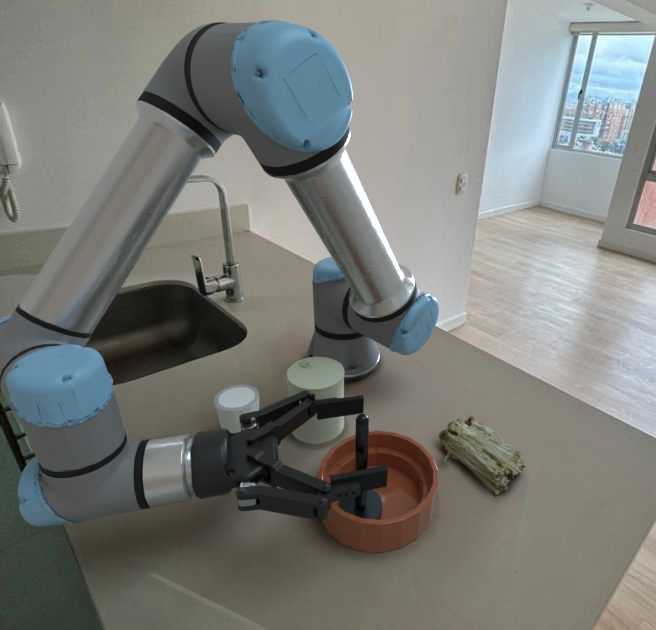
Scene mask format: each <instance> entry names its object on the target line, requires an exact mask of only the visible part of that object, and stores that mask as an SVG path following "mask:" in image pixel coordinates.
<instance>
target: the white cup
mask: <svg viewBox="0 0 656 630" xmlns="http://www.w3.org/2000/svg"><path fill="white" fill-rule="evenodd" d="M213 405H214V408H215V411H216V414H217V417H218V421H219V426H220V429H223V428H225V429H227V430H229V432H230V433H237V432H240V431H241V426H240V419H239V417H240V415H241V414H244V413H249V412H254V411H258V410H260V391H259V390H258V389H257V388H256V387H254V386H252V385H249V384H235V385H231V386H228V387H225V388H223V389H222V390H220V391H219V392H217V393H216V395H215V397H214V398H213Z"/></svg>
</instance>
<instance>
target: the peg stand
mask: <svg viewBox="0 0 656 630" xmlns="http://www.w3.org/2000/svg"><path fill="white" fill-rule="evenodd" d="M369 432H370V418H369V416H368V415H367V414H366V413H362V414H357V416H356V417H355V435H356V440H355V471H358V470H363V469H367V467H368V436H369ZM338 507H340V508H341V509H342V510H343V511H344V512H347V513H350V514H352V515H355V516H357V517H360V518H364V519H376V520H380V519H381V516H382V500H381V498H380V496H379V494H378V493H377V492H375V491H374V490H367V491H362V492H360V495H359V496H357V497H354V498H349V499H348V498H347V499H344V500H339V504H338Z"/></svg>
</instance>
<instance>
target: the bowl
mask: <svg viewBox="0 0 656 630" xmlns="http://www.w3.org/2000/svg"><path fill="white" fill-rule="evenodd" d="M355 440H356V434H353V435H351V436H347V437H345V438H344V439H342V440H341V441H339V442H337V444H335V445H333V446H332V447H331V448H330V449H329V451H328V452H327V453H326V454H325V455H324V457H323V458H322V459H321V461H320V465H319V468H318V472H317V477H316V478H318V479H321V480H323V481H326V482H328V483H330V476H331V475H336V474H341V473H347V472H352V471H355ZM385 465H386V466H387V469H388V475H387V487H382V488H377V489H372V490H374V491H375V492H377V493H378V494H379V496H380V498H381V500H382V516H381V519H380V520H376V519H364V518H360V517H357V516H355V515H352V514H350V513H347V512H344V511H343V510H342V509H341V508H340V507H338V504H339V501H335V502H332V503H331V504H332V507H331V509H330V510H328V517H327V519H326V520H324V521H321V522H322V524H323V526H324V528H325V530H326V532H327V533H328V534H330V536H332V537H333V538H334V539H335V540H336V541H337V542H338V543H340V545H343V546H345V547H348V548H351V549H354V550H355V551H358V552H364V553H373V554H374V553H375V554H382V553H386V552H392V551H396V550H400V549H402V548H404V547H405V546H407V545H410V544H411V543H412V542H415V541H416V540H417V539H418V538H420V536H421V535H422V534H423V533H424V532H425V531H426V530H427V529H428V528H429V526H430V523H431V521H432V520H433V519H432V518H433V517H434V514H435V509H436V502H437V496H438V486H439V470H438V467H437V464H436V462H435V460H434V457H433V456H432V455H431V453H430V452H429V450H427V448H426V447H425V446H424V445H423V444H421V443H420V442H418V441H416V440H414V439H413V438H411V437H409V436H406V435H403V434H400V433H397V432H394V431H385V430H384V431H383V430H373V431H372V430H371V431H369V436H368V467H367V469H368V468H374V467H379V466H385Z"/></svg>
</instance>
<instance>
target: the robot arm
mask: <svg viewBox="0 0 656 630" xmlns="http://www.w3.org/2000/svg"><path fill="white" fill-rule="evenodd" d="M352 85H353V84H352V81H351V76H350V73H349V71H348V69H347V66H346V64H345V63H344V60H343V59H342V57H341V55H340V54H339V52H338V50H337V49H336V48H335V47H334V46H333V45H332V43H331V42H330V41H329V40H328V39H326V37H324V36H323V35H322V34H320V33H319V32H317V31H315V30H313V29H311V28H310V27H307V26H305V25H303V24H297V23H290V22H288V21H283V20H279V19H265V20H264V19H263V20H260V21H257V22H256V21H255V22H254V21H253V22H224V21H220V22H219V21H217V22H209V23H205V24H202V25H200V26H198V27H196V28H194V29H192V30H191V31H189V32H188V33H187V34H185V35H184V36H183V37H182V38H181V39H179V41H178V42H176V44H175V45H174V46H173V48H172V49H171V50H170V51H169V53H168V54H167V55H166V57H165V58H164V60H163V61H162V62H161V63H160V65H159V67H158V68H157V70H155V73H154V74H153V76H152V77H151V79H150V80H149V82H148V83H147V85H146V86H145V88H144V89H143V91H142V92H141V94H140V95H139V97H138V99H137V100H136V102H135V109H136V112H137V116H138V119H137V120H136V121H135V124H133V126H132V128H131V130H130V131H129V133H128V134H127V136H126V137H125V139H124V141H123V142H122V144H121V145H120V146H119V148H118V150H117V152H116V153H115V155H114V156H113V158H112V159H111V161H110V163H108V166H107V167H106V168H105V170H104V172H103V173H102V174H101V176H100V178H99V179H98V180H97V183H96V184H95V185H94V187H93V189H92V190H91V192H90V193H89V195H88V196H87V198H86V200H85V201H84V203H83V204H82V205H81V207H80V209H79V210H78V212H77V214H76V215H75V217H74V218H73V220H72V221H71V223H70V225H69V226H68V228H67V229H66V230H65V232H64V234H63V235H62V237H61V238H60V240H59V241H58V243H57V245H56V246H55V248H54V250H53V251H52V253H51V254H50V255H49V256H48V259H47V260H46V262H45V263H44V265H43V266H42V268H41V269H40V271H39V272H38V273H37V275H36V277H35V279H34V280H33V282H32V283H31V285H30V286H29V288H28V290H27V291H26V293H24V294H25V295H24V296H23V297H22V299H21V301H20V302H19V303H18V305H17V306H16V307H15V309H14V311H13V312H12V313H11V314H8V315H5V316H3V317H1V318H0V393H1V394H2V396H3V398H4V400H5V401H6V403H7V404H8V406H9V408H10V410H11V411H12V412H13V414H14V416H15V418H16V419H17V421H18V422H19V424H20V426H21V427H22V430H23V432H24V434H25V436H26V439H27V441H28V442H29V445H30V447H31V449H32V451H33V453H34V455H35V457H34V458H32V459H31V460H29V461H28V463H26V465H25V466H24V468H23V470H22V472H21V475H20V478H19V481H18V485H17V486H18V487H17V497H18V498H19V505H18V509H19V513H20V515H21V517H22V518H23V520H24V521H25V522H26V523H27V524H29V525H31V526H33V527H38V528H41V527H42V528H43V527H52V526H59V525H68V524H69V525H70V524H72V525H77V524H80V523H84V522H87V521H91V520H95V519H101V518H105V517H111V516H116V515H122V514H126V513H131V512H137V511H143V510H147V509H148V510H149V509H152V508H158V507H164V506H169V505H175V504H181V503H186V502H189V501H191V500H192V499H193V497H194V495H195V497H196V498H197V499H199V500H204V499H208V498H213V497H219V496H225V495H228V494H230V493H231V492H232V491H233V489H236V491H235V496H236V502H237V509H238V510H239V511H240V512H251V511H259V510H261V511H265V512H270V513H276V514H280V515H286V516H291V517H297V518H302V519H308V520H313V521H318V522H322V521H324V520H326V519H327V517H328V510H330V509H331V507H332V504H331V503H332V502H335V501H339V500H344V499H347V498H348V499H349V498H354V497H357V496H359V495H360V492H362V491H367V490H372V489H377V488H382V487H387V475H388V469H387V466H386V465H385V466H379V467H374V468H368V469H363V470H358V471H352V472H347V473H341V474H336V475H331V476H330V483H328V482H326V481H323V480H321V479H318V478H317V477H316V476H313V475H311V474H308V473H306V472H303V471H301V470H298V469H296V468H295V467H291V466H289V465H287V464H284V463H283V462H282V461H281V460H280V458H279V446H280V444H281V442H282V441H283V440H284V439H286V438H287V437H288V436H289V435H291V434H292V432H293V431H295V430H296V429H297V428H299V427H300V426H301V425H303V424H304V423H305V422H307V421H308V420H309V419H311V418H312V417H313V416H315V415H316V413H317V420H321V419H328V418H334V417H341V416H344V417H346V416H347V417H348V416H355V415H359V414H364V408H365V397H364V395H363V394H360V395H353V396H352V395H351V396H346V397H345V396H344V398H335V397H334V398H328V399H327V398H326V399H319V400H315V394H313V393H310V394H309V391H302V392H300V393H297V394H295V395H293V396H290V397H289V396H288V397H286V398H284V399H281V400H279V401H277V402H274V403H272V404H270V405H267V406H264V407H263V408H261V409H260V408H259V410H258V411H254V412H249V413H244V414H241V415H240V417H239V419H240V426H241V431H240V432H237V433H230V432H229V430H227V429H225V428H223V429H222V428H216V429H210V430H202V431H198V432H197V433H195V434H194V435H193V436H192V435H190V433H188V432H185V433H179V434H178V433H177V434H172V435H165V436H159V437H153V438H147V439H139V440H130V441H129V440H128V436H127V431H126V429H125V427H124V423H123V419H122V415H121V412H120V411H121V410H120V408H119V403H118V401H117V397H116V393H115V389H114V388H115V387H114V380H113V377H112V375H111V373H110V372H109V371H108V369H107V366H106V362H105V360H104V357H103V356H102V354H101V353H99V351H98V350H96V349H94V348H93V347H89V346H86V345H87V344H88V342H89V340H90V339H91V337H92V335H93V333H94V331H95V330H96V328H97V326H98V325H99V323H100V322H101V320H102V318H103V317H104V316H105V314H106V312H107V311H108V309H109V307H110V306H111V304H112V302H113V301H114V300H115V298H116V296H117V295H118V293H119V292H120V290H121V288H122V287H123V285H124V283H126V280H128V277H129V276H130V274H131V272H132V271H133V269H134V267H135V266H136V264H137V263H138V261H139V260H140V258H141V256H142V255H143V253H144V252H145V250H146V248H147V247H148V246H149V244H150V242H151V241H152V239H153V238H154V236H155V234H156V233H157V232H158V230H159V228H160V226H162V223H163V222H164V220H165V218H166V217H167V215H168V213H169V212H170V210H171V209H172V207H173V205H174V204H175V202H176V201H177V199H178V198H179V196H180V194H181V193H182V191H183V190H184V188H185V187H186V186H187V184H188V182H189V180H190V178H191V177H192V175H193V174H194V172H195V171H196V169H197V168H198V167H199V164H200V163H201V161H202V160H204V159H210V158H214V157H215V156H216V155H217V153H218V152H219V150H220V149H221V147H222V145H223V144H224V143H225V142H226V141H227V140H228V139H229V138H231V137H233V136H240V137H241V138H242V139H243V140H244V142H245V144H246V145H247V147H248V149H249V150H250V152H251V153H252V154H253V156H254V158H255V159H256V161H257V162H258V164H259V165H260V167H261V168H262V170H263V171H264V173H265V174H267V176H269V177H271V178H275V179H279V180H283V181H284V182H285V184H286V185H287V187H288V188H289V190H290V192H291V193H292V195H293V196H294V198H295V199H296V201H297V203H298V205H299V207H300V208H301V209H302V211H303V212H304V214H305V216H306V218H307V219H308V221H309V222H310V224H311V225H312V227H313V229H314V231H315V232H316V234H317V236H318V237H319V239H320V240H321V242H322V244H323V245H324V247H325V249H326V250H327V252H328V253H329V256H328V257H325V258H323V259H320V260H318V261H317V262H316V263H315V264H314V267H313V269H312V280H311V284H312V300H313V301H312V302H313V322H314V330H313V333H312V336H311V339H310V342H309V345H308V349H307V352H306V358H309V357H326V358H331V359H334V360H336V361H338V362H339V363H340V364H341V365H342V366H343V368H344V371H345V373H344V382H351V381H352V382H353V381H358V380H361V379H363V378H367V377H368V376H370V375H371V374H373V373H374V372H375V371H376V370H377V369H378V367H379V364H380V351H379V347H378V344H379V345H380V346H383V347H385V348H387V349H388V350H389V351H391V352H394V353H397V354H399V355H402V356H409V355H412V354H415V353H417V352H419V351H420V349H422V348H423V347H424V346H425V344H426V343H427V342H428V340H429V339H430V337H431V335H432V334H433V332H434V330H435V328H436V324H437V323H438V320H439V315H440V305H439V301H438V299H437V298H436V297H434V296H433V295H431V293H428V292H423V291H422V290H420V289H419V287H418V285H417V282H416V280H415V278H414V275H413V273H412V272H411V271H410V269H409V268H408V267H406V266H404V265H402V264H399V262H398V261H397V259H396V258H395V257H396V256H395V255H394V253H393V250H392V248H391V246H390V244H389V242H388V239H387V237H386V235H385V233H384V231H383V228H382V227H381V224H380V221H379V220H378V217H377V216H376V213H375V211H374V209H373V206H372V204H371V202H370V200H369V198H368V195H367V193H366V191H365V188H364V186H363V184H362V182H361V179H360V178H359V175H358V174H357V171H356V169H355V167H354V165H353V162H352V160H351V157H350V156H349V154H348V151H347V150H346V147H347V146H348V144H349V142H350V139H351V129H350V124H351V121H352V117H353V111H354V110H353V109H352V108H351V107H350V106H351V102H353V101H354V91H353V86H352ZM299 401H301V403H299ZM259 483H262V485H259ZM263 484H264V485H263Z"/></svg>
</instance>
